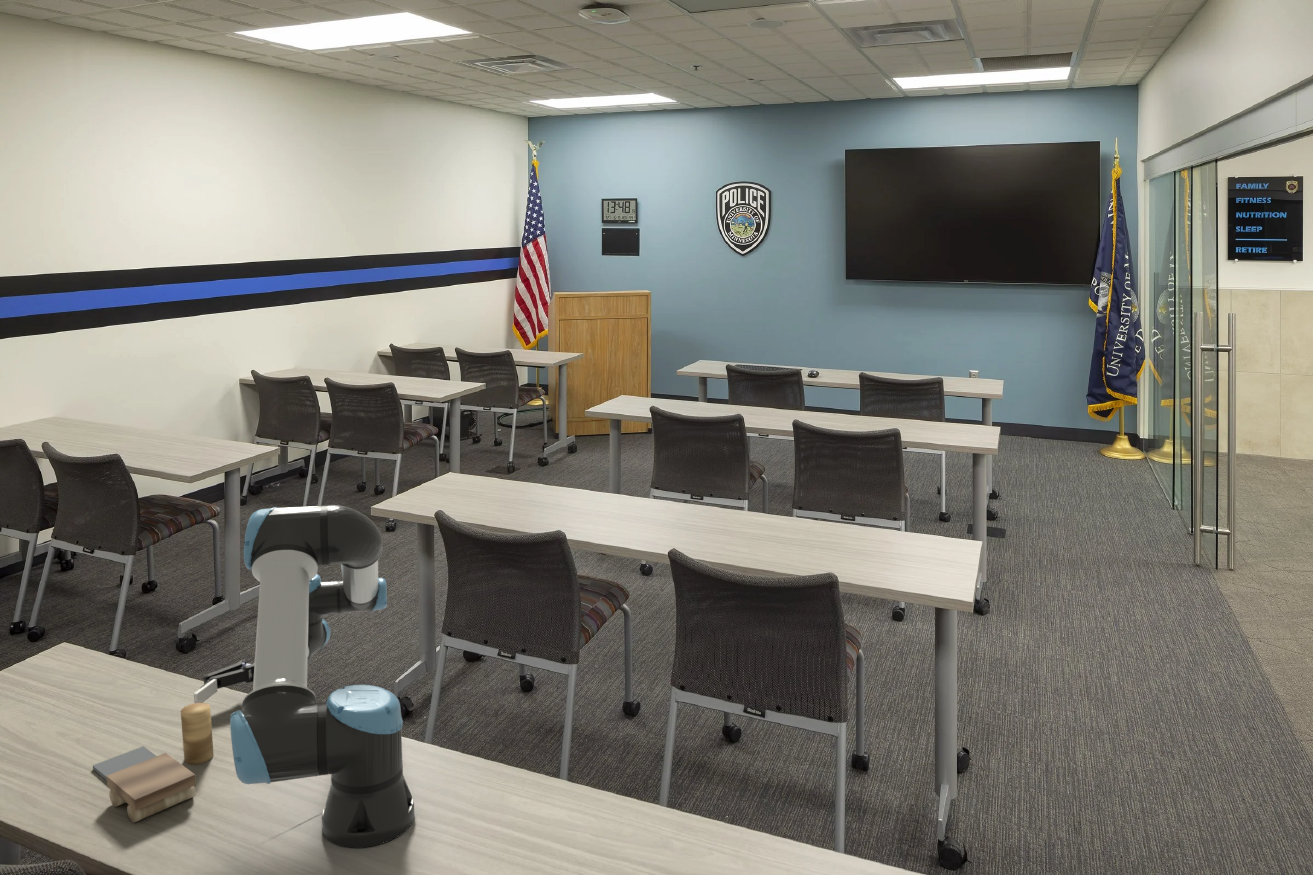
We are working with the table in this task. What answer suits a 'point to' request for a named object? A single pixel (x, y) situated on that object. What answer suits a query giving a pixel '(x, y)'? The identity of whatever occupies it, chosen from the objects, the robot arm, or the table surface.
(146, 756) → the pad
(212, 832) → the table surface
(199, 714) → the roller
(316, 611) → the robot arm
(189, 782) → the slab
